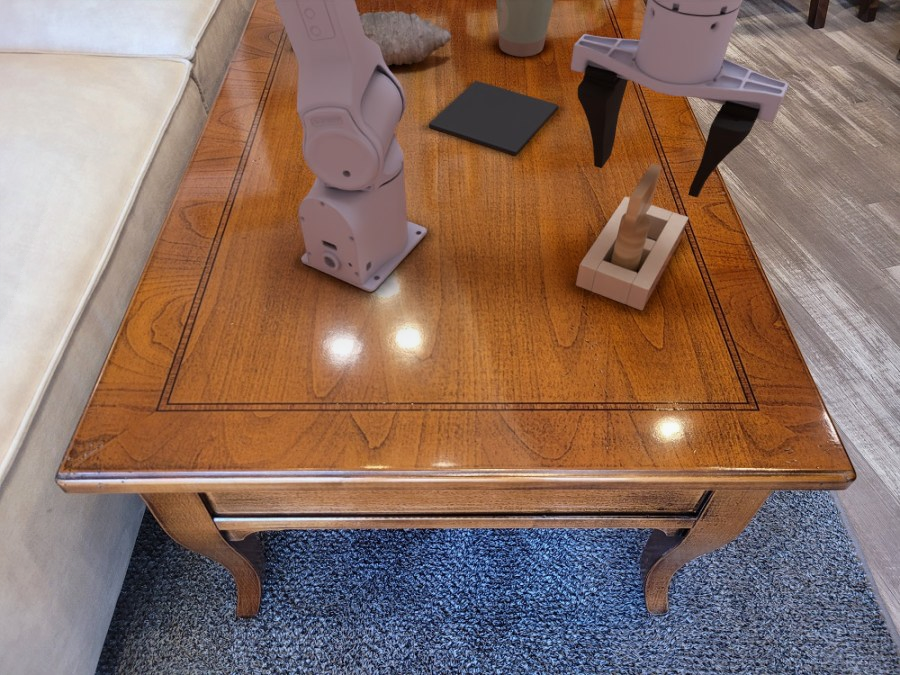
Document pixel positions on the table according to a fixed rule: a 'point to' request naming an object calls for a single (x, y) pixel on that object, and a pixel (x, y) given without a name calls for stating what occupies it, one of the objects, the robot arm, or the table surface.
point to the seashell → (403, 36)
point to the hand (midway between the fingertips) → (648, 174)
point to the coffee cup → (523, 25)
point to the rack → (652, 264)
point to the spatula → (636, 222)
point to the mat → (494, 117)
